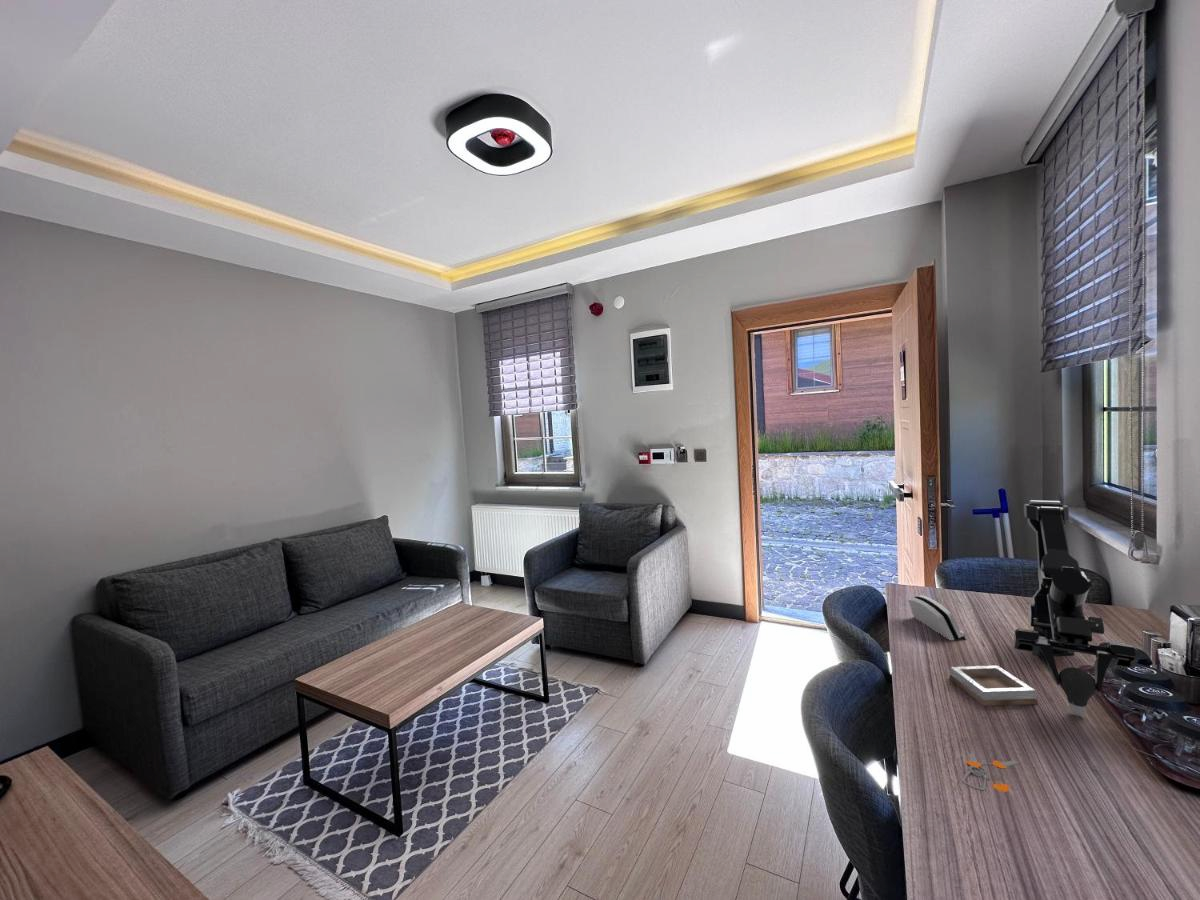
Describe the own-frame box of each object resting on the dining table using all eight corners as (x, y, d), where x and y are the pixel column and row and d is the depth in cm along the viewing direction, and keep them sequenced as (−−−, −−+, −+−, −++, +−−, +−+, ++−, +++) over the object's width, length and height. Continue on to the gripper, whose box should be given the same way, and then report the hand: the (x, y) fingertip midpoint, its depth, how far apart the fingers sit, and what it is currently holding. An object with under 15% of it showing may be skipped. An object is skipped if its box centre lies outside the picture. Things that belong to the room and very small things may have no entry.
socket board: (998, 677, 116) (997, 673, 116) (1037, 704, 105) (1037, 699, 105) (949, 678, 117) (949, 674, 117) (983, 705, 106) (983, 701, 106)
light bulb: (1090, 727, 97) (1089, 678, 96) (1053, 713, 102) (1052, 667, 101) (1101, 717, 99) (1100, 670, 99) (1065, 704, 104) (1064, 659, 104)
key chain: (1007, 804, 80) (1007, 799, 80) (954, 781, 86) (953, 776, 86) (1021, 765, 88) (1021, 760, 88) (972, 746, 94) (972, 742, 94)
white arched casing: (968, 639, 135) (955, 607, 135) (952, 646, 136) (939, 614, 135) (929, 616, 152) (917, 587, 152) (915, 622, 152) (903, 593, 152)
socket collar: (997, 673, 116) (997, 665, 116) (1035, 699, 105) (1035, 690, 105) (950, 675, 117) (950, 667, 117) (983, 700, 106) (983, 691, 106)
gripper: (1013, 592, 108) (1020, 662, 100) (1135, 606, 97) (1155, 686, 89) (1011, 614, 115) (1017, 681, 106) (1125, 630, 104) (1141, 706, 95)
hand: (1078, 688), depth 99 cm, fingers closed on light bulb, 6 cm apart
